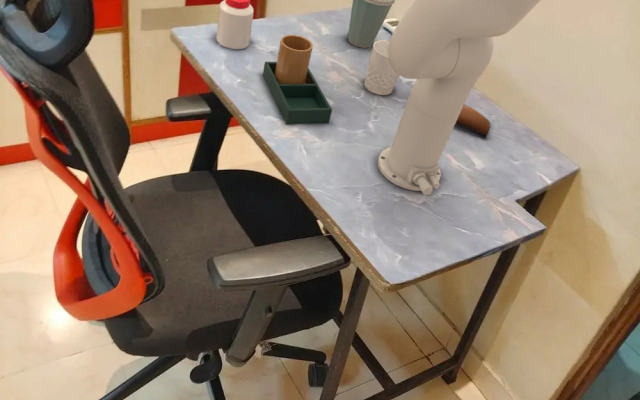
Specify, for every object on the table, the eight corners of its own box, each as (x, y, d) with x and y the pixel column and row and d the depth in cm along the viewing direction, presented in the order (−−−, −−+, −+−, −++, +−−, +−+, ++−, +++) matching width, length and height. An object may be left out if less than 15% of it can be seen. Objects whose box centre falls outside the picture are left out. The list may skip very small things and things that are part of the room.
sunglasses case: (490, 119, 136) (499, 105, 130) (481, 145, 134) (489, 132, 128) (416, 92, 138) (421, 77, 132) (406, 117, 136) (411, 103, 130)
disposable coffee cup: (337, 29, 155) (351, -27, 145) (375, 34, 158) (392, -21, 148) (344, 50, 148) (359, -8, 138) (385, 54, 150) (402, -2, 140)
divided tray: (302, 75, 134) (305, 61, 132) (328, 123, 122) (332, 109, 120) (262, 75, 131) (264, 61, 129) (285, 124, 119) (288, 110, 117)
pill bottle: (219, 30, 142) (224, -15, 135) (251, 36, 143) (257, -7, 135) (213, 44, 136) (217, -1, 129) (246, 52, 137) (252, 7, 130)
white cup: (395, 83, 141) (407, 45, 134) (394, 100, 135) (407, 61, 128) (363, 75, 140) (374, 37, 134) (360, 92, 134) (372, 53, 128)
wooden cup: (307, 92, 128) (316, 51, 122) (278, 92, 126) (286, 50, 119) (298, 75, 133) (307, 35, 126) (269, 75, 130) (277, 34, 124)
